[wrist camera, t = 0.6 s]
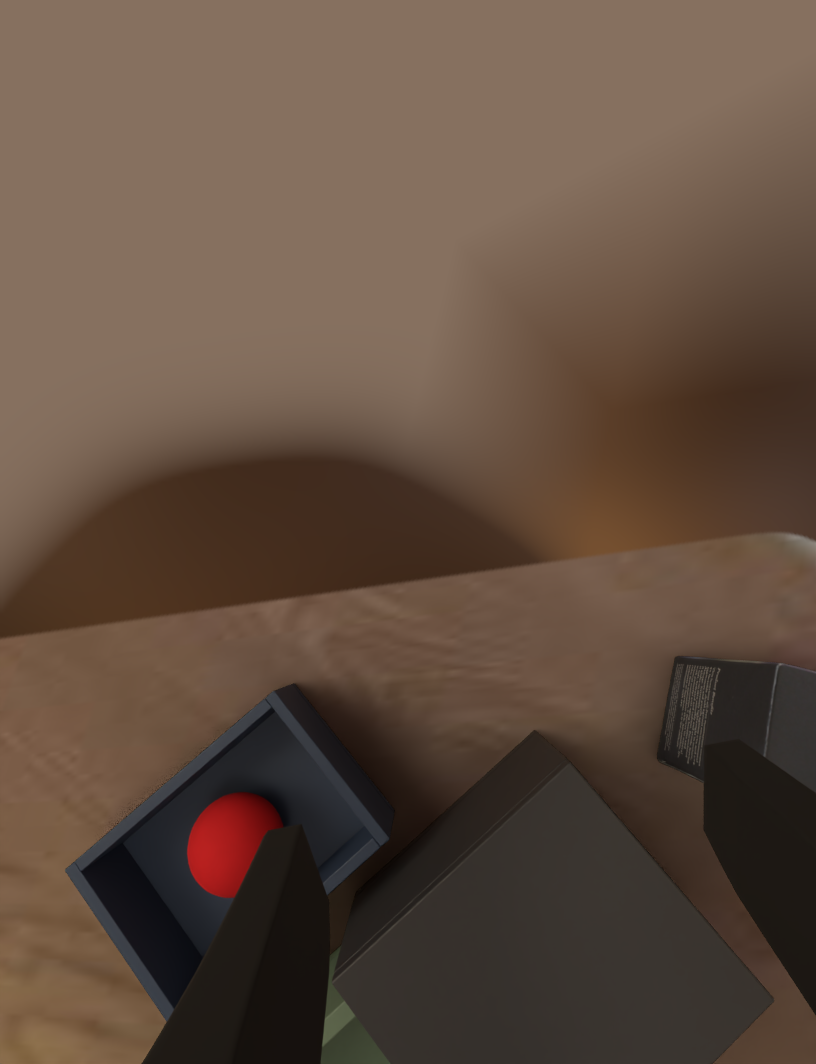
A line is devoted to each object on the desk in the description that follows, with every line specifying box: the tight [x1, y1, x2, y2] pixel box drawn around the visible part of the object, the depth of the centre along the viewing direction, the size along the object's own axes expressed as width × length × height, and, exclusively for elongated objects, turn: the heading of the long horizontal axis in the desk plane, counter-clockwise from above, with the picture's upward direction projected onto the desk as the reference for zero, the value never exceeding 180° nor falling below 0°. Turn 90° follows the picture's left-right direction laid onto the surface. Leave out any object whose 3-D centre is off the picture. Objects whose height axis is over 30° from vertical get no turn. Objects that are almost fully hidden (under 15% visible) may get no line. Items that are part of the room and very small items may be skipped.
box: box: [65, 683, 395, 1021], centre depth 31 cm, size 13×9×5 cm
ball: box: [187, 792, 283, 898], centre depth 30 cm, size 5×5×5 cm
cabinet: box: [332, 730, 774, 1064], centre depth 28 cm, size 13×12×8 cm
